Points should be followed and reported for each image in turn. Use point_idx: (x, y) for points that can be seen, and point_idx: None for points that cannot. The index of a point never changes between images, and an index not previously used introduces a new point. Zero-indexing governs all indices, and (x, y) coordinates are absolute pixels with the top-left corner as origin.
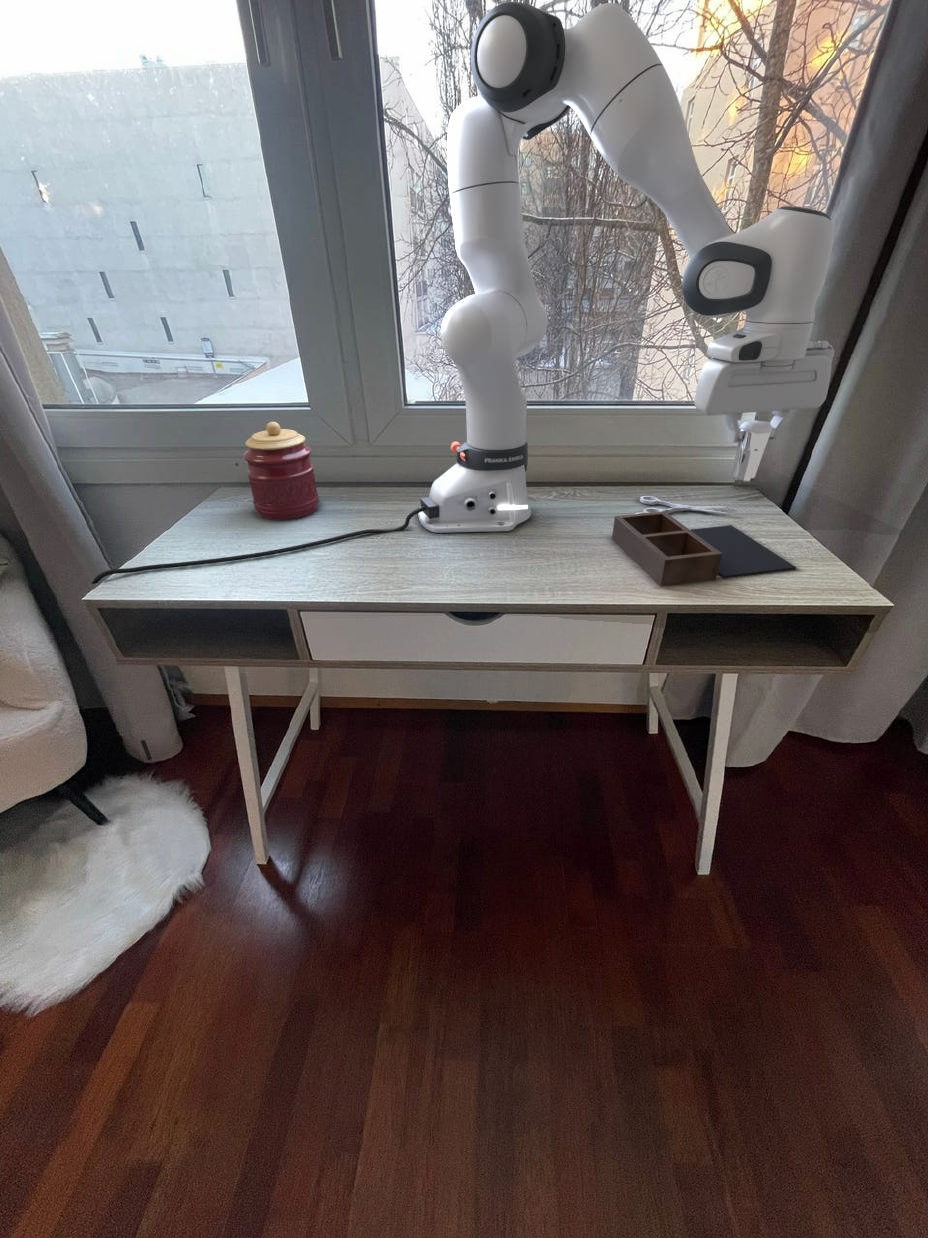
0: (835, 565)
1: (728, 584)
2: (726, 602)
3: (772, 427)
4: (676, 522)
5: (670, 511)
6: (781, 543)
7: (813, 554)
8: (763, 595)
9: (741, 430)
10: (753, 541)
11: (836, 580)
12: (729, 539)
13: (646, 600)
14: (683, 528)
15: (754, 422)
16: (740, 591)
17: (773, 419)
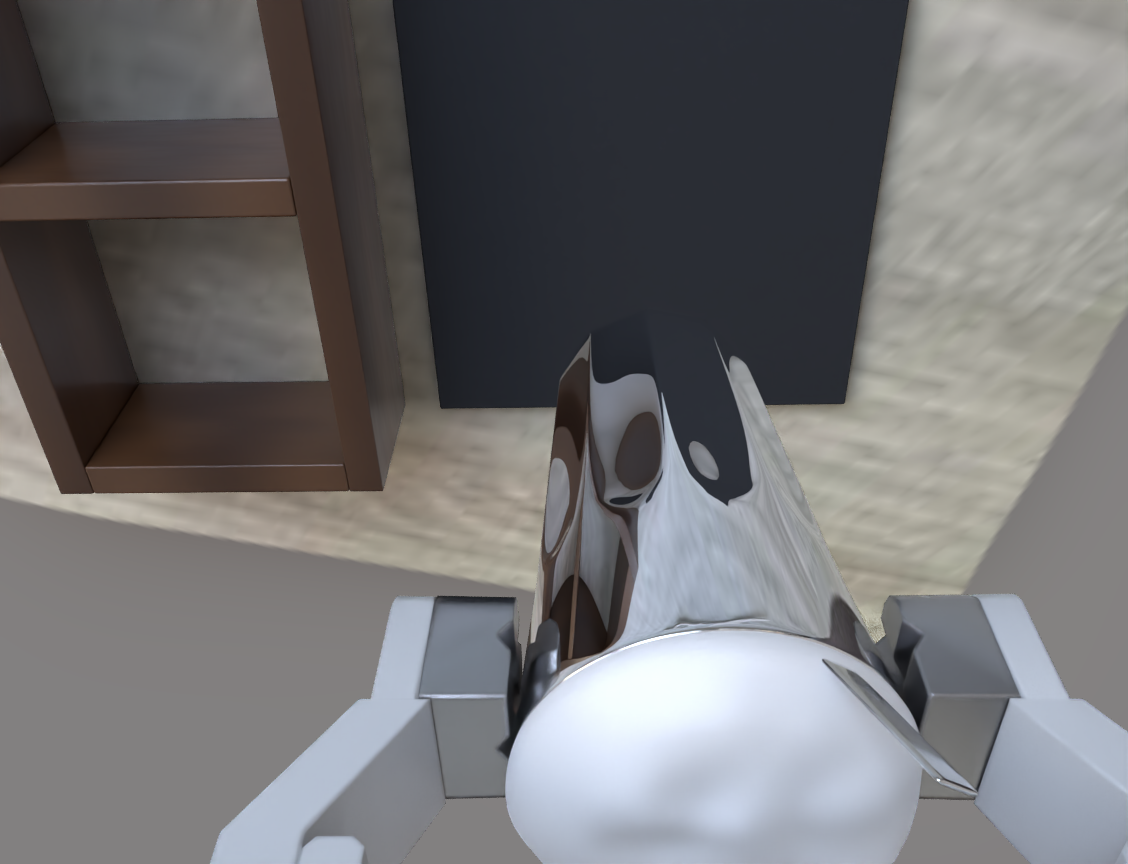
0: (1065, 400)
1: (438, 449)
2: (357, 557)
3: (982, 769)
4: (280, 33)
5: None
6: (1050, 104)
7: (1084, 277)
8: (533, 544)
9: (498, 767)
10: (878, 71)
11: (927, 508)
12: (747, 2)
13: (31, 490)
14: (293, 153)
15: (673, 858)
16: (458, 504)
17: (1095, 791)
